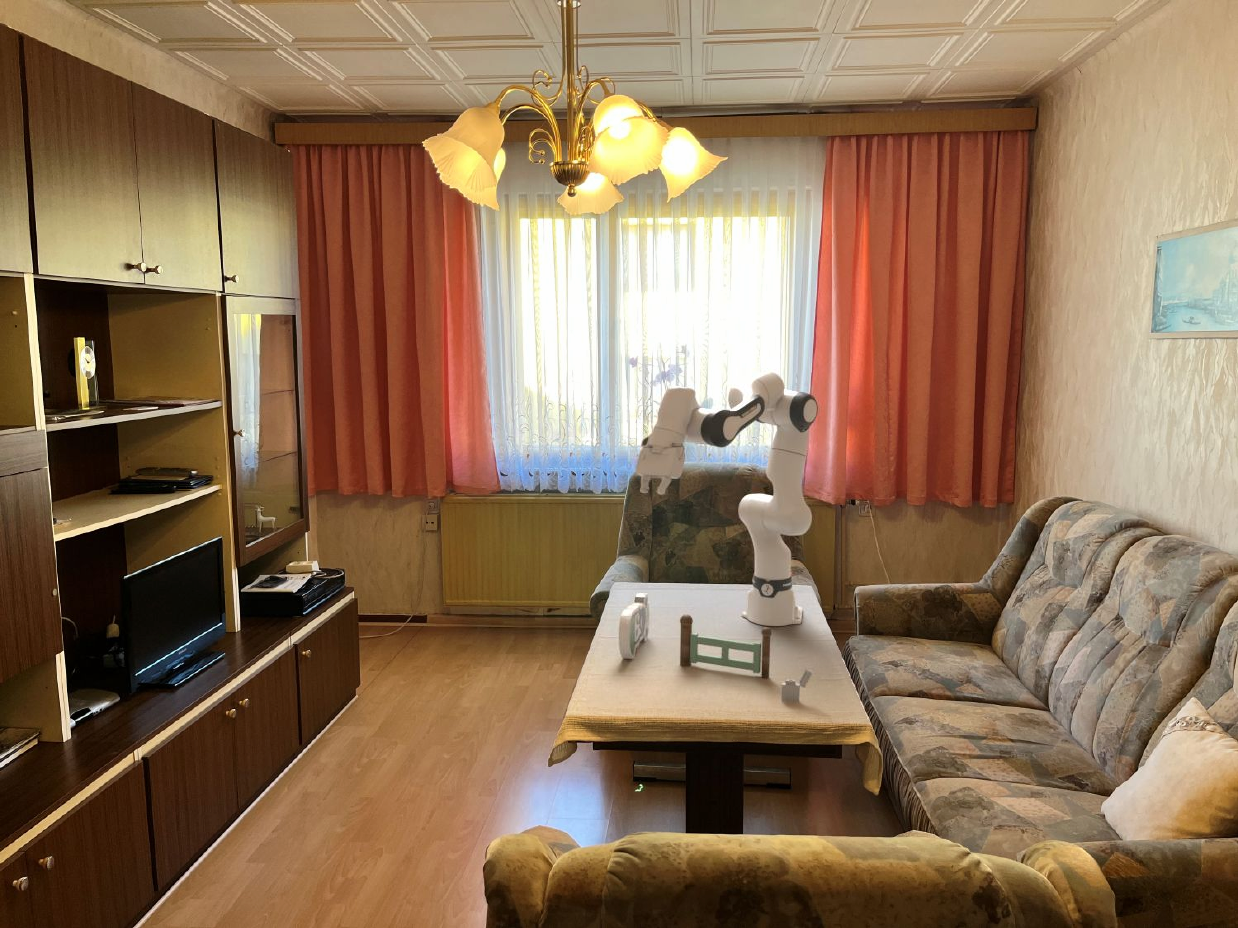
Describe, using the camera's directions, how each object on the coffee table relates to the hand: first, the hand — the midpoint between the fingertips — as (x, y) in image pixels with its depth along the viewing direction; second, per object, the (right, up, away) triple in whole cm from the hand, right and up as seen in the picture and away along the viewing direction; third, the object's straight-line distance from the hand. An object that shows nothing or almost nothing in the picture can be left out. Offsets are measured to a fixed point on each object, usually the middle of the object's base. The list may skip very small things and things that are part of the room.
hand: (651, 493), depth 246 cm
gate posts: (+19, -47, +1) cm, 51 cm away
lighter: (+35, -50, -19) cm, 64 cm away
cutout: (-4, -45, +17) cm, 48 cm away
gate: (+19, -46, +1) cm, 50 cm away
